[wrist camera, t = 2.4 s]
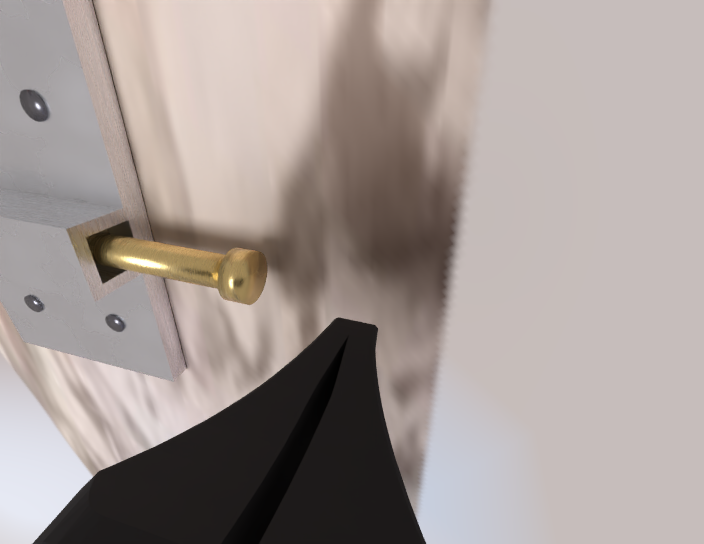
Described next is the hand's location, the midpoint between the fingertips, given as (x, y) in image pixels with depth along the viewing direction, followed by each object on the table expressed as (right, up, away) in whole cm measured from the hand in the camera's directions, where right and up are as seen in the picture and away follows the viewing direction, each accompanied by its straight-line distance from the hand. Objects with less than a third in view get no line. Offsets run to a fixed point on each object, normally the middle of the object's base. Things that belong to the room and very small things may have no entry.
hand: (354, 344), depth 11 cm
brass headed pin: (-10, +4, +5) cm, 12 cm away
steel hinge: (-16, +5, +7) cm, 19 cm away
